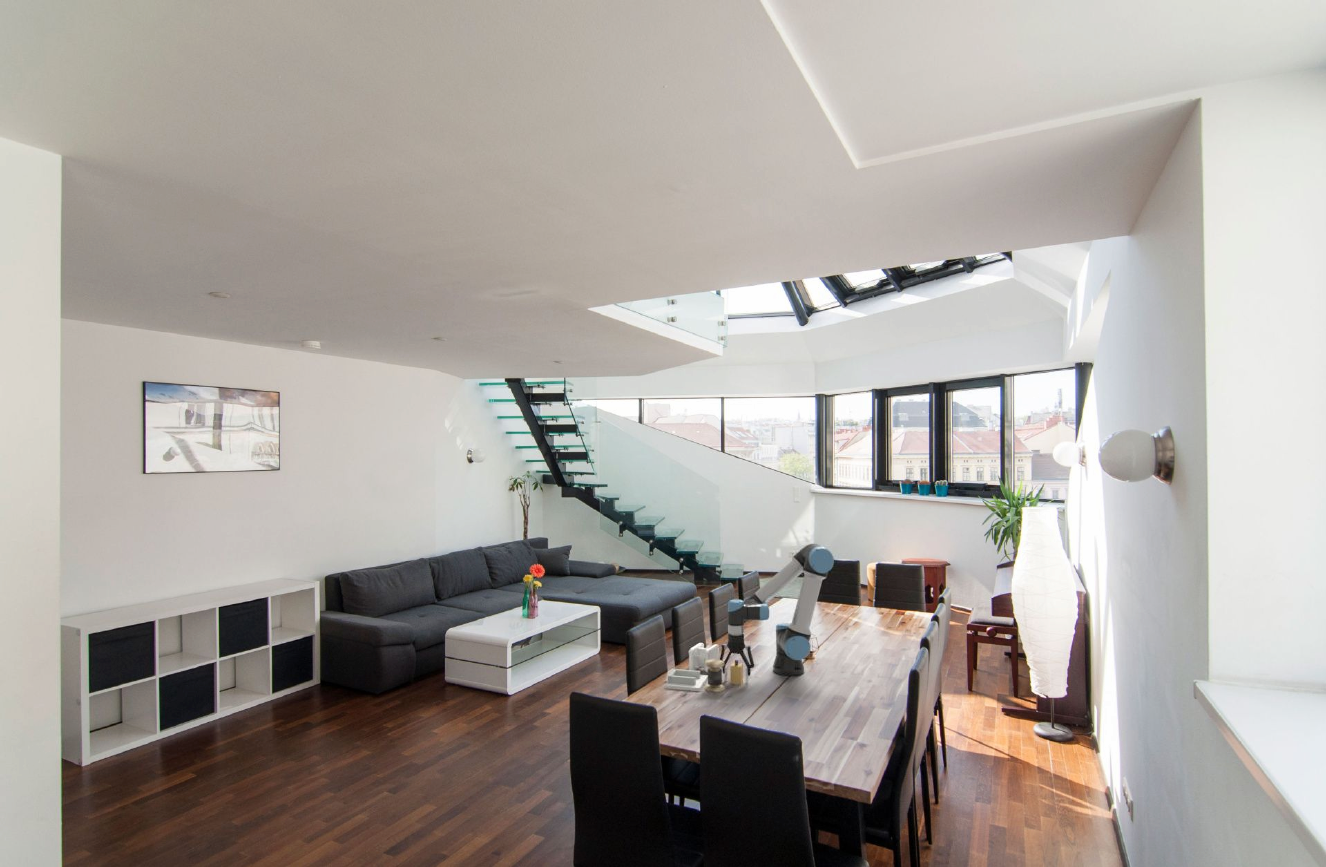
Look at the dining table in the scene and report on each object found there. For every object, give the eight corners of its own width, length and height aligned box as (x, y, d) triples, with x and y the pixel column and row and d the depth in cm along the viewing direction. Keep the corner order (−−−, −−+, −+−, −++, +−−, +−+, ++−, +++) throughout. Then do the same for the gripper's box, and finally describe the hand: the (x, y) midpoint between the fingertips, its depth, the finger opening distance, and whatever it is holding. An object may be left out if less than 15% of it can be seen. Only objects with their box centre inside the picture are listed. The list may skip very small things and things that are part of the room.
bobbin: (726, 686, 309) (726, 660, 309) (722, 693, 300) (722, 666, 301) (707, 684, 312) (707, 658, 312) (703, 691, 303) (702, 664, 303)
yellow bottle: (742, 680, 317) (742, 659, 317) (741, 684, 312) (740, 662, 313) (732, 679, 318) (732, 658, 319) (730, 683, 314) (730, 661, 314)
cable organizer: (707, 675, 325) (707, 651, 325) (688, 672, 330) (687, 648, 330) (719, 666, 338) (719, 643, 339) (700, 664, 343) (700, 641, 343)
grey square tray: (708, 678, 320) (708, 669, 320) (699, 691, 303) (699, 681, 303) (675, 676, 325) (675, 666, 325) (665, 688, 307) (665, 678, 307)
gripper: (760, 632, 317) (761, 680, 316) (714, 629, 323) (715, 677, 322) (758, 637, 309) (758, 686, 309) (711, 633, 316) (712, 682, 315)
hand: (736, 681), depth 315 cm, fingers open, 9 cm apart
